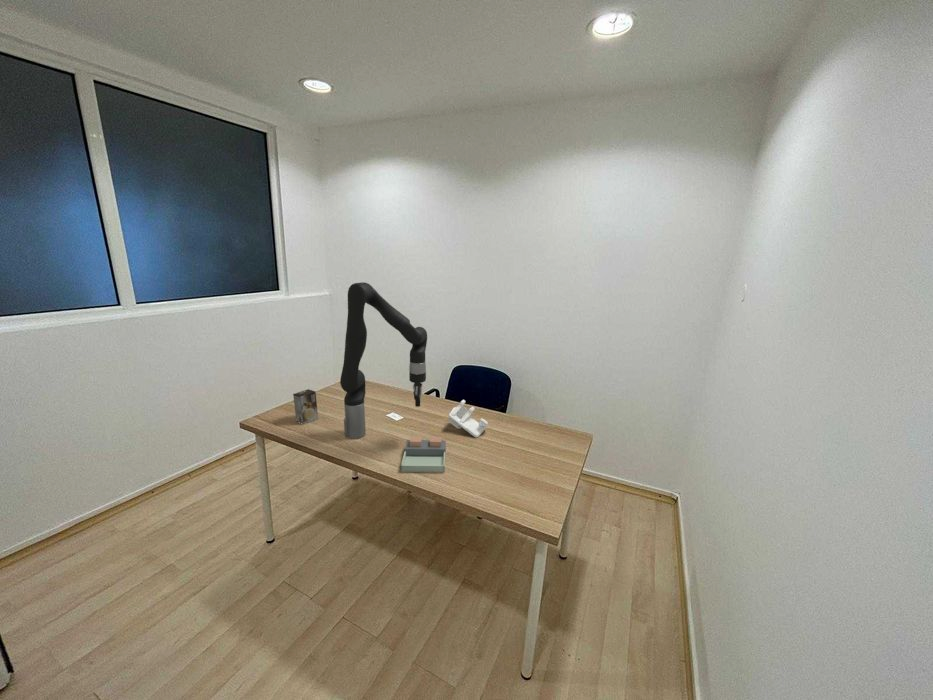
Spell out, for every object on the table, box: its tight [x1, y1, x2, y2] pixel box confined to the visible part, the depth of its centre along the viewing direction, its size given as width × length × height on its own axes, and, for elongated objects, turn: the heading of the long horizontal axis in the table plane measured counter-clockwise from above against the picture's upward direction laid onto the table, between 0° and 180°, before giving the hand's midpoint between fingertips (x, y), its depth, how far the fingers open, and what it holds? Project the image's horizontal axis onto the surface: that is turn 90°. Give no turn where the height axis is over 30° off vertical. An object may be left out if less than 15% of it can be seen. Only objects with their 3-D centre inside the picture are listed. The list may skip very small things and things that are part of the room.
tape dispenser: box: [447, 399, 489, 439], centre depth 182 cm, size 20×11×13 cm, turn 66°
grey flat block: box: [404, 439, 447, 457], centre depth 161 cm, size 18×8×4 cm, turn 92°
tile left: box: [409, 435, 423, 447], centre depth 160 cm, size 5×5×2 cm
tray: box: [400, 450, 446, 474], centre depth 151 cm, size 18×11×3 cm, turn 92°
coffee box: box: [292, 388, 319, 425], centre depth 187 cm, size 9×6×16 cm
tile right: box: [429, 435, 443, 447], centre depth 160 cm, size 5×5×2 cm
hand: (417, 406), depth 165 cm, fingers closed
